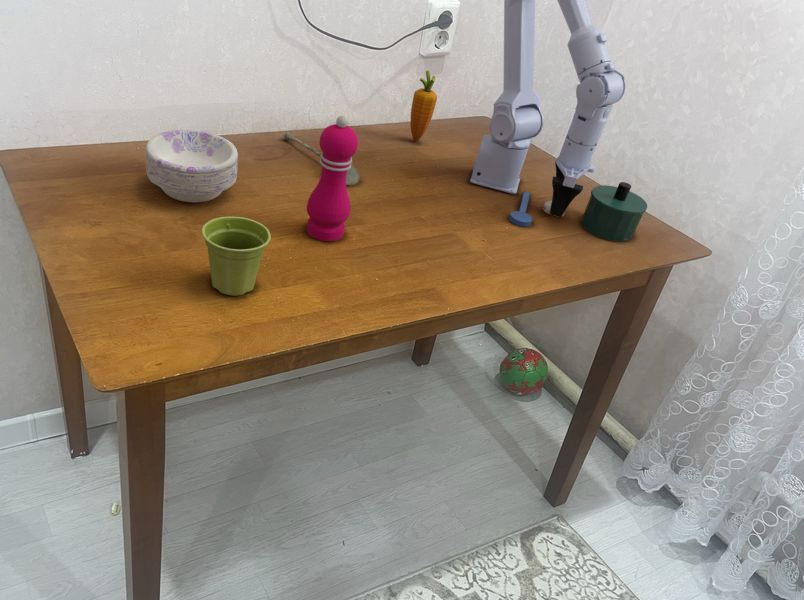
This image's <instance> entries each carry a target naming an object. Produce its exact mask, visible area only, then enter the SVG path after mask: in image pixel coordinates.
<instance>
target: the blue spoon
mask: <svg viewBox="0 0 804 600" xmlns="http://www.w3.org/2000/svg"><path fill="white" fill-rule="evenodd" d="M530 195H531V192H530V191H525V190H523V193H522V196H521V197H522V198H521V201H520V206H519V209H518V210H514V211H511V212H510V214H509V217H508V220H509V221H510V222H511V224H513V225H516V226H518V227H530V226H531V225H532V222H533V217H532V216H531V215H530V214H529V213H527V209H528V204H529V198H530Z"/></svg>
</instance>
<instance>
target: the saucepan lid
mask: <svg viewBox="0 0 804 600" xmlns="http://www.w3.org/2000/svg"><path fill="white" fill-rule="evenodd" d="M617 185H618V186H614V185H606V184H605V185H596V186H594V187H593V188H592V189H591V192H590V196H591V195H592V197H593V199H594V200H595V201H597V202H598V203H599V204H601V205H603V206H604V207H607V208H609V209H611V210H614V211H617V212H621V213H626V214H641V213H643V214H644V213H645V212H646V211H647V210H648V203H647V202H646V200H645V199H644V198H643V197H641V196H640V195H639V194H637V193H635V192H632V191H631V189H632V184H630V183H628V182H625V181H620V182H619V183H618V184H617Z"/></svg>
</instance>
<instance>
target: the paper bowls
mask: <svg viewBox="0 0 804 600" xmlns="http://www.w3.org/2000/svg"><path fill="white" fill-rule="evenodd" d="M238 157H239V152H238V149H237V148H236V145H234V143H232V142H231V141H230V140H228V139H227V138H225V137H223V136H220V135H218V134H215V133H212V132H207V131H201V130H194V129H177V130H168V131H163V132H161V133H158V134H156V135H155V136H153V137H151V138H150V139H149V140H148V142H147V143H146V145H145V164H146V165H145V168H146V169H145V170H146V176H147V179H148V180H149V181H150V182H151V183H152V184H154V185H156V186H158V187H159V188H161V191H162V192H164V193H165V195H167V196H168V197H170V198H172V199H174V200H177V201H181V202H186V203H203V202H204V203H205V202H209V201H211V200H214V199H216V198H218V197H219V196H220V195H221V194H222V193H223V191H226V190H228V189H229V188H231V187H232V186H233V185H235V183H236V181H237V179H238V166H239V165H238V164H239V162H238Z"/></svg>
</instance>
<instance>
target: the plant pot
mask: <svg viewBox="0 0 804 600" xmlns="http://www.w3.org/2000/svg"><path fill="white" fill-rule="evenodd" d="M201 235H202V238H203V240H204V242H205V245H206V247H207V252H208V261H209V270H210V278H211V279H210V280H211V285H212V287H213V288H214V289H215V290H218V292H219V293H220V294H224V295H227V296H233V297H234V296H235V297H236V296H238V297H239V296H243V295H245V293H249V292H251V291H252V290H253V289H254V288H255V284H256V281H257V280H256V279H257V275H258V271H259V269H260V264H261V260H262V257H263V253H264V251H265V250H266V247H267V246H268V244H269V243H270V241H271V238H272V237H271V232H270V230H269V228H268V227H266V226H265V225H264V224H262V223H261V222H258V221H256V220H254V219H251V218H247V217H243V216H232V215H231V216H221V217H220V216H219V217H216V218H213V219H210V220H208V221H207V222H206V223H205V224H203V225H202V228H201Z"/></svg>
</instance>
